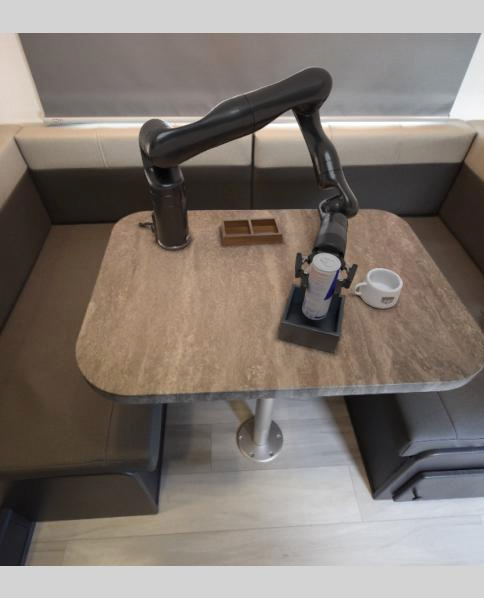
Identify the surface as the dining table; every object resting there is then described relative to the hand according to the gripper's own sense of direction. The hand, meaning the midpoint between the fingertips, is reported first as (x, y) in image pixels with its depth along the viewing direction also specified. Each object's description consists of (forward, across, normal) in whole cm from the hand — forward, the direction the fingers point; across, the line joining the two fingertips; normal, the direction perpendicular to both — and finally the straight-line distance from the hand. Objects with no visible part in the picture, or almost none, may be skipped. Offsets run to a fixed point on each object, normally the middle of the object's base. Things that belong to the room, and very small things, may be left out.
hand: (319, 293), depth 72 cm
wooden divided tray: (-33, -24, +13) cm, 42 cm away
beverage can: (-3, 0, +9) cm, 9 cm away
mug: (-17, +14, +14) cm, 26 cm away
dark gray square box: (-2, 0, +13) cm, 13 cm away
